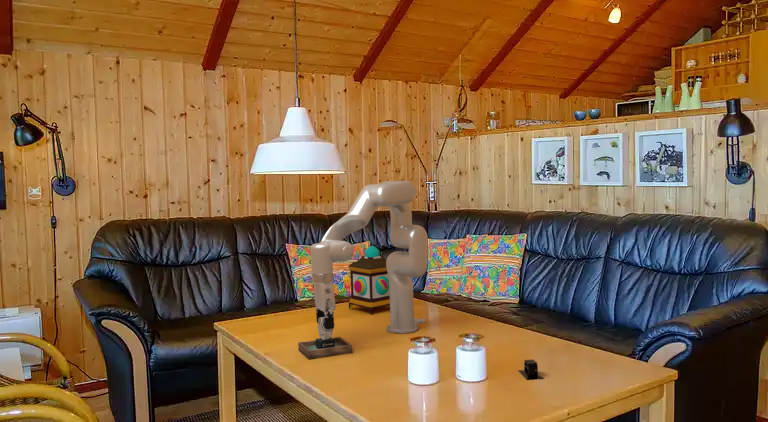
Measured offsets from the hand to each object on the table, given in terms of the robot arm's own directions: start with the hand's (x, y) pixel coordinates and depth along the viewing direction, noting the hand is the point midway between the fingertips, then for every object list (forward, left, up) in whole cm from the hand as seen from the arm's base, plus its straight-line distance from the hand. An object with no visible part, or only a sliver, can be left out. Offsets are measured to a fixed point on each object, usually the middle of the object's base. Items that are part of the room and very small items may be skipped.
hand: (325, 325), depth 214 cm
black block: (-47, +55, -10) cm, 73 cm away
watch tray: (0, 0, -9) cm, 9 cm away
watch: (0, 0, -8) cm, 8 cm away
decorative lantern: (-42, -56, -10) cm, 70 cm away
